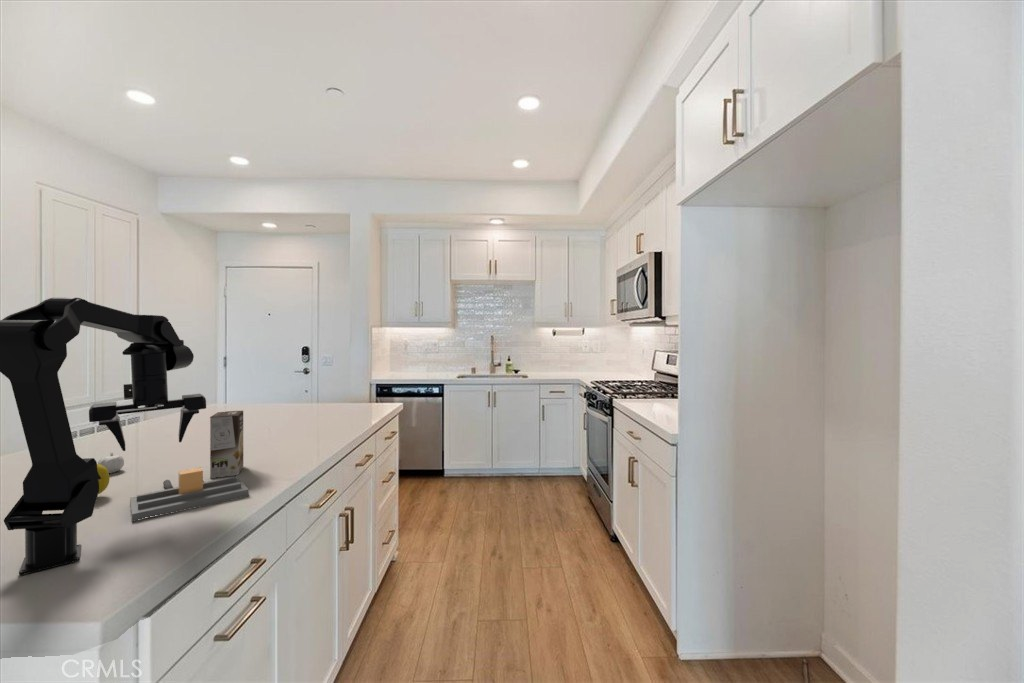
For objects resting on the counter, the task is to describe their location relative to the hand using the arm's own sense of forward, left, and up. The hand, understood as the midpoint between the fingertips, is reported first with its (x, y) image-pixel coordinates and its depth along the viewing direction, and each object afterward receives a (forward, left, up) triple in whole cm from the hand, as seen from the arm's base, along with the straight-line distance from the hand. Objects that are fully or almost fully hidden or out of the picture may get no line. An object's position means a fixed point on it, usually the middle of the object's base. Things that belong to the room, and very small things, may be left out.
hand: (153, 446), depth 91 cm
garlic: (+39, +7, -13) cm, 42 cm away
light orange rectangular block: (-1, -6, -12) cm, 13 cm away
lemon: (+16, +10, -13) cm, 23 cm away
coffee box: (+17, -16, -13) cm, 27 cm away
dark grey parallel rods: (+10, -6, -13) cm, 18 cm away
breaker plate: (-1, -6, -13) cm, 15 cm away
